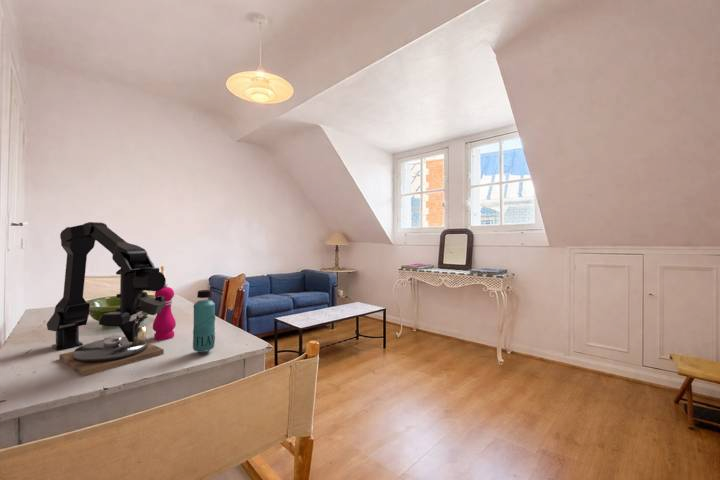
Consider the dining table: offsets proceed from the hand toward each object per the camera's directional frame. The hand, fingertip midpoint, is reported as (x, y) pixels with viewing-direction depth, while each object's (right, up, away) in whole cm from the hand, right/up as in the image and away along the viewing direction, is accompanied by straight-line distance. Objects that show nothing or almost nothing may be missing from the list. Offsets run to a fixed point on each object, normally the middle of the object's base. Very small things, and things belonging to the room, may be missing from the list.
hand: (131, 341), depth 97 cm
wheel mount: (-7, -5, +2) cm, 9 cm away
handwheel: (-7, -3, +2) cm, 8 cm away
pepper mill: (-3, -5, +21) cm, 21 cm away
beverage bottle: (+19, -6, +6) cm, 21 cm away
